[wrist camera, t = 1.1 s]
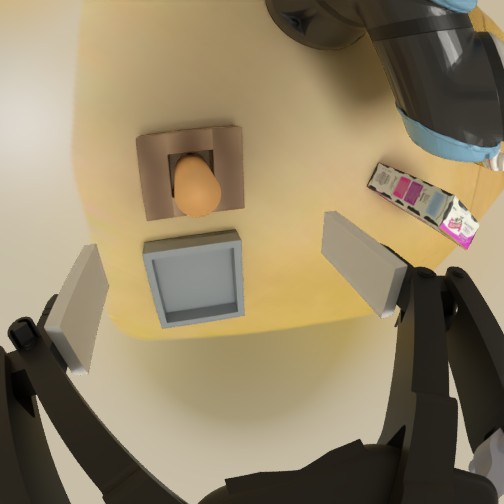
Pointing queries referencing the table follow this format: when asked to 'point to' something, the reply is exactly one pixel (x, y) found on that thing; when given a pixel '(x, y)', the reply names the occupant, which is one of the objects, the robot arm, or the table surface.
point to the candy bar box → (426, 203)
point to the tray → (196, 278)
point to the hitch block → (212, 138)
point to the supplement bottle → (493, 162)
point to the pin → (195, 186)
